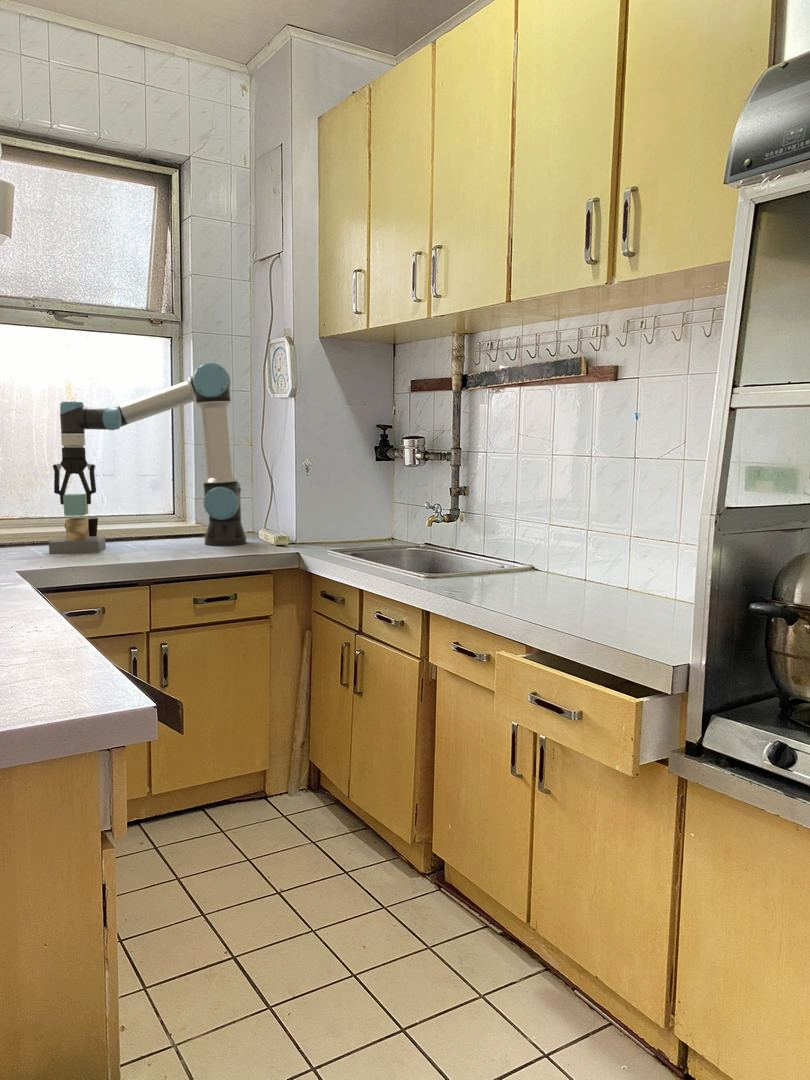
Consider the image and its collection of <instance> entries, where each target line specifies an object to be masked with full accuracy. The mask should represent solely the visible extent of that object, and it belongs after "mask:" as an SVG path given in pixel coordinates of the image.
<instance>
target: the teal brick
mask: <svg viewBox="0 0 810 1080" xmlns="http://www.w3.org/2000/svg"><path fill="white" fill-rule="evenodd" d="M84 495H86V493H66V494H65V495H64V505H63V510H64V509H65V514H64V516H65V517H77V516H79V517H85V516H86V515H87V514H85V508H84Z"/></svg>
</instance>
